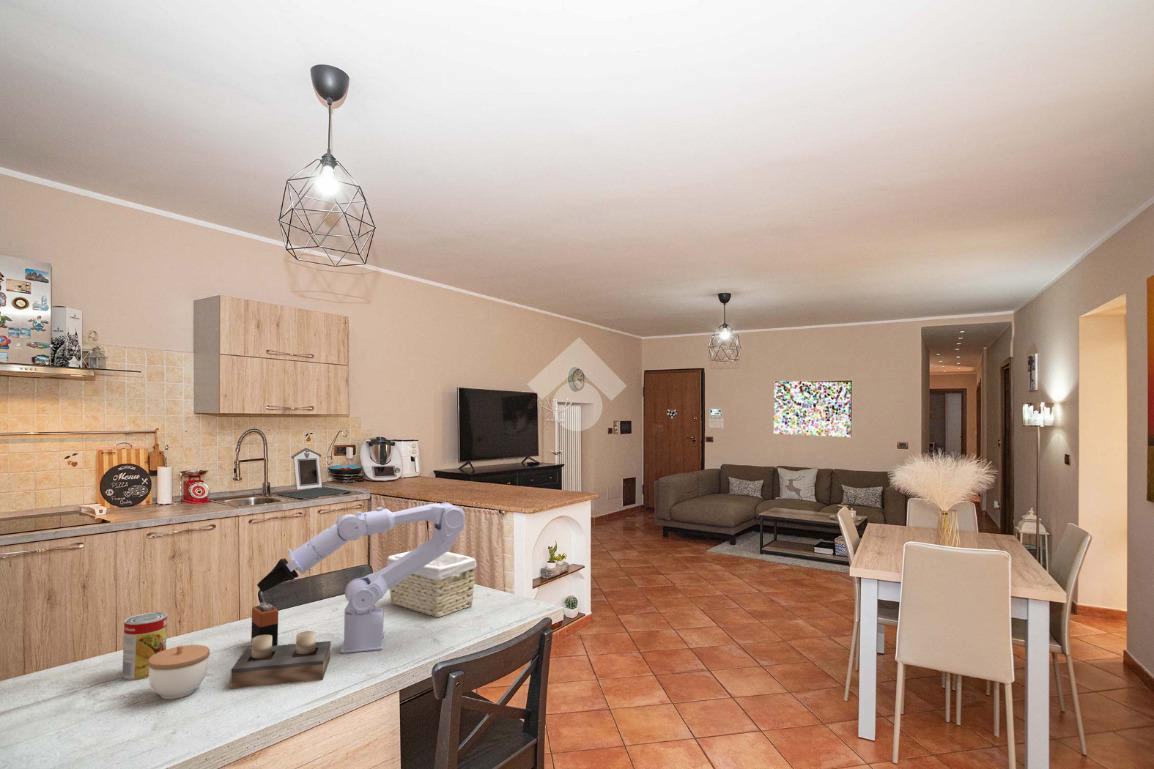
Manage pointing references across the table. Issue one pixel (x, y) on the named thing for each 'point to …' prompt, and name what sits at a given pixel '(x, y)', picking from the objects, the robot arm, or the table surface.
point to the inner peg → (305, 642)
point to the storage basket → (437, 585)
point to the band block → (281, 666)
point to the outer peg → (261, 646)
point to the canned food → (142, 642)
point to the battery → (265, 622)
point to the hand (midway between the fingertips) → (261, 587)
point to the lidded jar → (178, 670)
